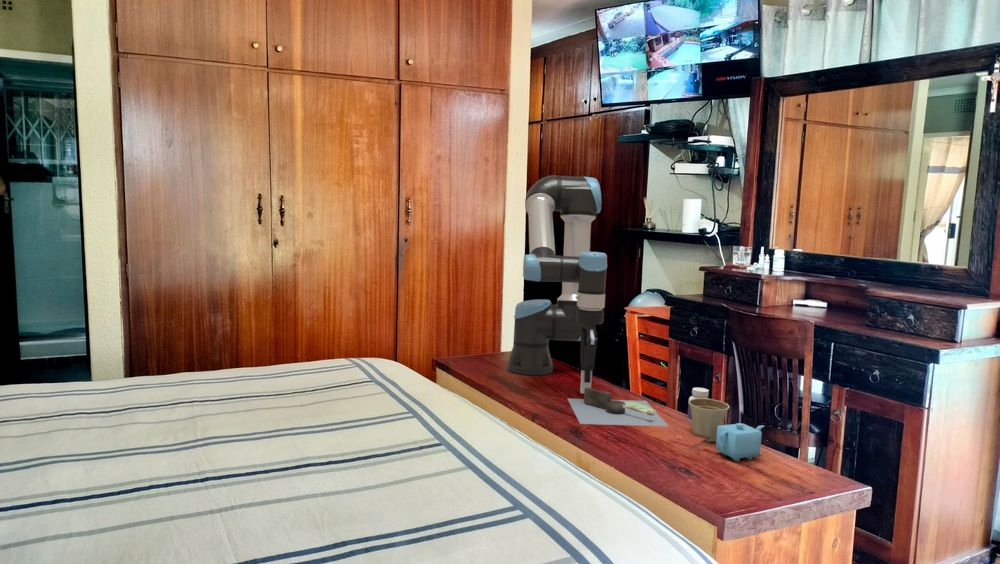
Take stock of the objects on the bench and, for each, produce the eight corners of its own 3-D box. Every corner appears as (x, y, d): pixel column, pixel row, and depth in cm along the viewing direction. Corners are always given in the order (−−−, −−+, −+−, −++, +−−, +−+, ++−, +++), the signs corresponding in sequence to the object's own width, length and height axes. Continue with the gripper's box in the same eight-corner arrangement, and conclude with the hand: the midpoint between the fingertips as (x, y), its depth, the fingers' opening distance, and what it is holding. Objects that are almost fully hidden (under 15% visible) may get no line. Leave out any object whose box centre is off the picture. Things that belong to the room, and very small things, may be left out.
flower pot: (729, 447, 158) (732, 411, 157) (687, 443, 159) (690, 407, 158) (724, 434, 167) (726, 400, 166) (684, 430, 169) (687, 396, 168)
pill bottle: (696, 431, 168) (699, 393, 167) (682, 424, 173) (684, 387, 172) (713, 428, 171) (716, 391, 170) (698, 422, 176) (701, 385, 175)
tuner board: (567, 403, 187) (567, 397, 187) (645, 406, 188) (646, 400, 188) (579, 429, 165) (580, 423, 165) (668, 432, 167) (669, 425, 166)
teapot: (752, 449, 157) (755, 417, 156) (771, 458, 152) (774, 425, 151) (709, 453, 153) (712, 421, 152) (727, 463, 147) (730, 430, 146)
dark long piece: (658, 418, 171) (659, 403, 171) (648, 423, 167) (649, 407, 167) (590, 400, 185) (591, 386, 185) (579, 404, 181) (580, 389, 181)
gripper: (573, 304, 191) (568, 386, 194) (580, 311, 178) (575, 399, 181) (599, 305, 192) (594, 387, 194) (608, 312, 179) (603, 399, 181)
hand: (585, 392), depth 187 cm, fingers closed
